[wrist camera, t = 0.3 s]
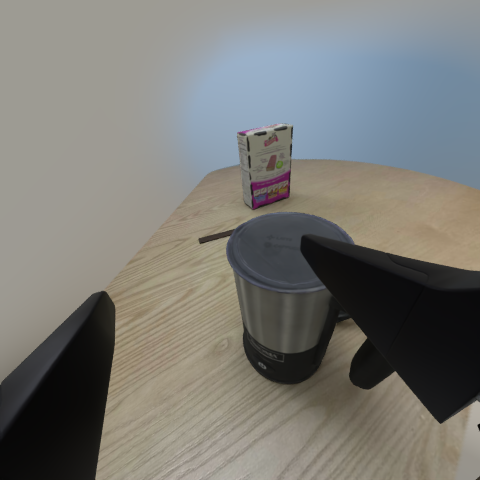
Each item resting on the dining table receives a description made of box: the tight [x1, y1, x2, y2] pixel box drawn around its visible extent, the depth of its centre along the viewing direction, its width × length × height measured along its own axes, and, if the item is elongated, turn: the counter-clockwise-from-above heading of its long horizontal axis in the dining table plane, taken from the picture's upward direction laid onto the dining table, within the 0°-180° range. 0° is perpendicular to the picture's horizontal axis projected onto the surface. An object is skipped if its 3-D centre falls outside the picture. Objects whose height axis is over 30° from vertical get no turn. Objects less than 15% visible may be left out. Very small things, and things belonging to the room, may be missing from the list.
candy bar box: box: [237, 123, 293, 209], centre depth 47 cm, size 11×5×16 cm, turn 117°
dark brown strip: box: [199, 229, 235, 243], centre depth 42 cm, size 2×20×1 cm, turn 108°
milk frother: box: [226, 212, 395, 390], centre depth 21 cm, size 14×16×15 cm
